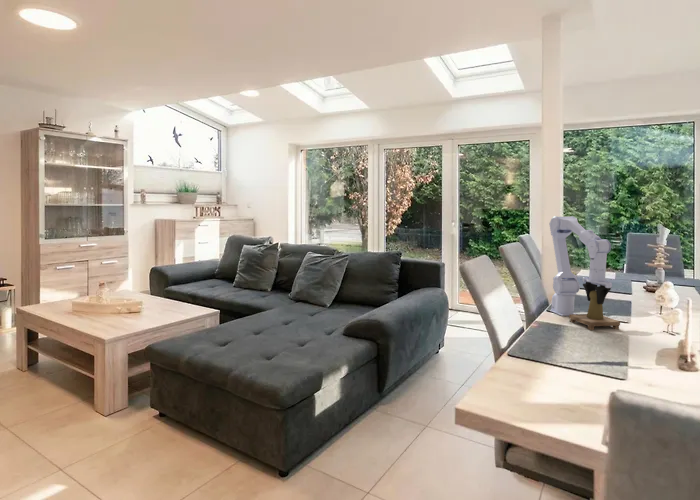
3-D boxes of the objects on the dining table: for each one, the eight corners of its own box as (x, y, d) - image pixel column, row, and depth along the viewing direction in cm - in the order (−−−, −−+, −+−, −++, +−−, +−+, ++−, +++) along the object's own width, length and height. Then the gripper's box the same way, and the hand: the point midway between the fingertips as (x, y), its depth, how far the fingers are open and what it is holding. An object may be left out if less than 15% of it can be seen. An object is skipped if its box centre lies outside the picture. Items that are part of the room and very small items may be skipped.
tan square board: (569, 321, 188) (569, 314, 188) (596, 320, 191) (597, 313, 190) (590, 330, 176) (590, 322, 175) (619, 329, 178) (620, 321, 177)
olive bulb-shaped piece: (588, 318, 181) (590, 292, 180) (585, 314, 187) (587, 289, 185) (605, 320, 179) (607, 293, 178) (601, 315, 185) (603, 289, 184)
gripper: (576, 266, 187) (574, 298, 189) (601, 272, 173) (599, 306, 174) (592, 266, 188) (589, 298, 190) (617, 271, 174) (615, 306, 175)
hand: (595, 302), depth 182 cm, fingers closed on olive bulb-shaped piece, 5 cm apart
